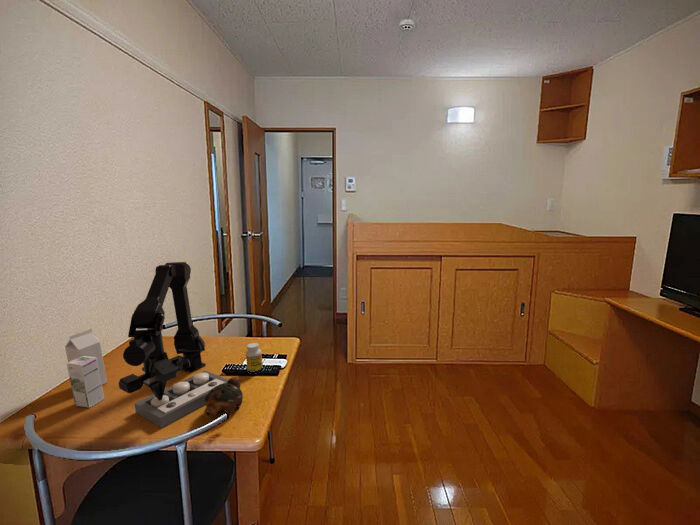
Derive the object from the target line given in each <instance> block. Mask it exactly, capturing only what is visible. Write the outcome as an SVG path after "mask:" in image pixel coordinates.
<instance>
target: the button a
mask: <svg viewBox="0 0 700 525" xmlns="http://www.w3.org/2000/svg"><path fill="white" fill-rule="evenodd" d="M167 402H169V397H168V396H166V395H163V398H162V400H160V401H159V400H158V399H157V398H156V397H155V398H153V399H152V400H151V406H153V407H155V408H157V407H159V406H161V405H163V404H165V403H167Z"/></svg>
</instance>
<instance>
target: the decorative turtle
mask: <svg viewBox="0 0 700 525" xmlns="http://www.w3.org/2000/svg"><path fill="white" fill-rule="evenodd" d="M243 398H244V396H243V391H242V390H241V380H240V378H239V376H231V377H230V378H229V379H228V382H227V383H224V384H220V385H218V386H216V387H214V388H213V389H212V390H210V391H209V393H208V394H207V395H206V397H205V400H204V402H205V405H204V406H205V409H204V411H203V412H204V414H205V415H206V416H207V417H208V418H209V417H210V418H212V417H214V416H216V414H218V413H219V412H221V410H223V411H224V412H226V413H227V414H229V415H230V414H232V413H234V410H235V409H236V407H237V408H240V407H241V406H242V404H243Z"/></svg>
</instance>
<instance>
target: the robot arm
mask: <svg viewBox="0 0 700 525" xmlns="http://www.w3.org/2000/svg"><path fill="white" fill-rule="evenodd" d="M154 273H155V274H154V277H153V279H152V282H151V285H150V287H149V290H148V292H147V294H146V296H145V299H144V300H142V302H139V303H138V305H137V306H136V307H135V309H134V311H133V313H132V315H131V318H130V324H129V329H128V335H127V337H128V338H133V339H131V340H130V341H128V344H129V345H128V346H127V347H126V348H125V349H124V351H123V353H122V357H123V360H124V362H125V363H126V364H128V365H129V366H133V367H138V366H141V365H142V364H143V367H141V371H142V372H144V373H143V374H141V375H135V374H134V373H131V374H129V375H126V376H124V377H121V378H120V379H119V381H118V388H119V389H120V390H122V391H124V392H125V393H127V394H133V393H134V392H137V391H139V390H141V389H142V388H143V386H147V387H148V389H149V390H151V392H152V395H153V394H154V395H155V396H156V398H157V399H158V400H159V401H160V400H162V398H163V394H164V390H165V389H166V387H167V383H168V381H171V380H173V379H176V378H177V377H178V373H179V372H181V371H187V372H189V373H192V372H193V371H194V372H195V371H196V370H198V369H200V368H201V369H202V368H203V367H205V366H206V365H207V364H206V363H205V362H202V356H201V353H202V352H204V351H206V348H205V347H206V343H205V341H204V339H203V338H202V337H201V336H200V333H199V332H200V331H199V330H198V329H197V327H196V326H195V325H194V324H193V320H192V314H191V307H190V306H191V305H190V299H189V294H188V293H189V292H188V288H187V285H188V283H189V282H190V279H191V273H192V268H191V265H190V264H189V263H187V261H179V262H176V261H175V262H173V261H172V262H166V263H165V264H160V265H157V266H156V267H155V270H154ZM169 288H170V290H171V293H172V300H173V306H174V311H175V319H176V324H177V330H176V333H175V334H174V335H173V346H174V349H175V352H176V356H173V357H171V358H169V356H168V354H167V352H166V351H165V348H164V340H163V335H162V334H163V333H162V330H164V322H165V319H166V318H165V317H166V316H165V313H166V312H165V311H164V309H163V308H164V307H163V306H164V303H165V300H166V297H167V293H168V290H169ZM180 354H182V355H180Z"/></svg>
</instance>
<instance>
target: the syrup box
mask: <svg viewBox="0 0 700 525" xmlns="http://www.w3.org/2000/svg"><path fill="white" fill-rule="evenodd" d="M66 366H67V372H68V375H69V377H68V378H69V383H70V387H71V390H72V391H71V392H72V397H73V401H74V406H75V407H78V406H80V407H79V408H84V407H87V409H90V407H91V408H92V406H93V407H94V406H95V404H96V405H98V404H99V403H101V402H103V401H104V400H105V394H104V390H103V385H102V384H101V378H100V373H99V367H98V362H97V357H90V356H80V357H78V358H76V359H74V360H72V361H70V362H68V361H67V362H66ZM100 401H101V402H100ZM98 402H99V403H98ZM97 403H98V404H97Z"/></svg>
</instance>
